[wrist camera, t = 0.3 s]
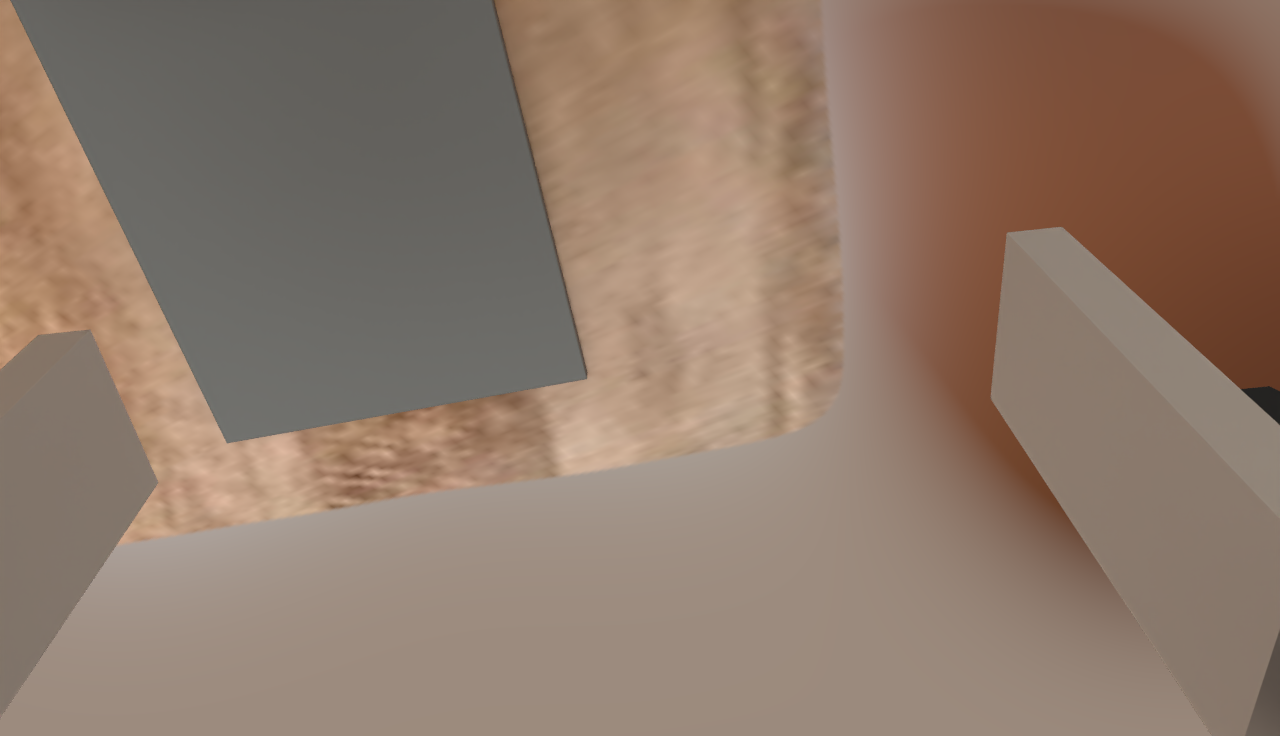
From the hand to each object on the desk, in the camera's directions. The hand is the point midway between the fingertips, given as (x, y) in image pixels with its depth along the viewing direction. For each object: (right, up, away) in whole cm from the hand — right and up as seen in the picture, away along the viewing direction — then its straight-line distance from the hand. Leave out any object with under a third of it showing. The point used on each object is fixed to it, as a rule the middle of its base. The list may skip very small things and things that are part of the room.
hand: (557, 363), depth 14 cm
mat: (-12, +7, +27) cm, 31 cm away
